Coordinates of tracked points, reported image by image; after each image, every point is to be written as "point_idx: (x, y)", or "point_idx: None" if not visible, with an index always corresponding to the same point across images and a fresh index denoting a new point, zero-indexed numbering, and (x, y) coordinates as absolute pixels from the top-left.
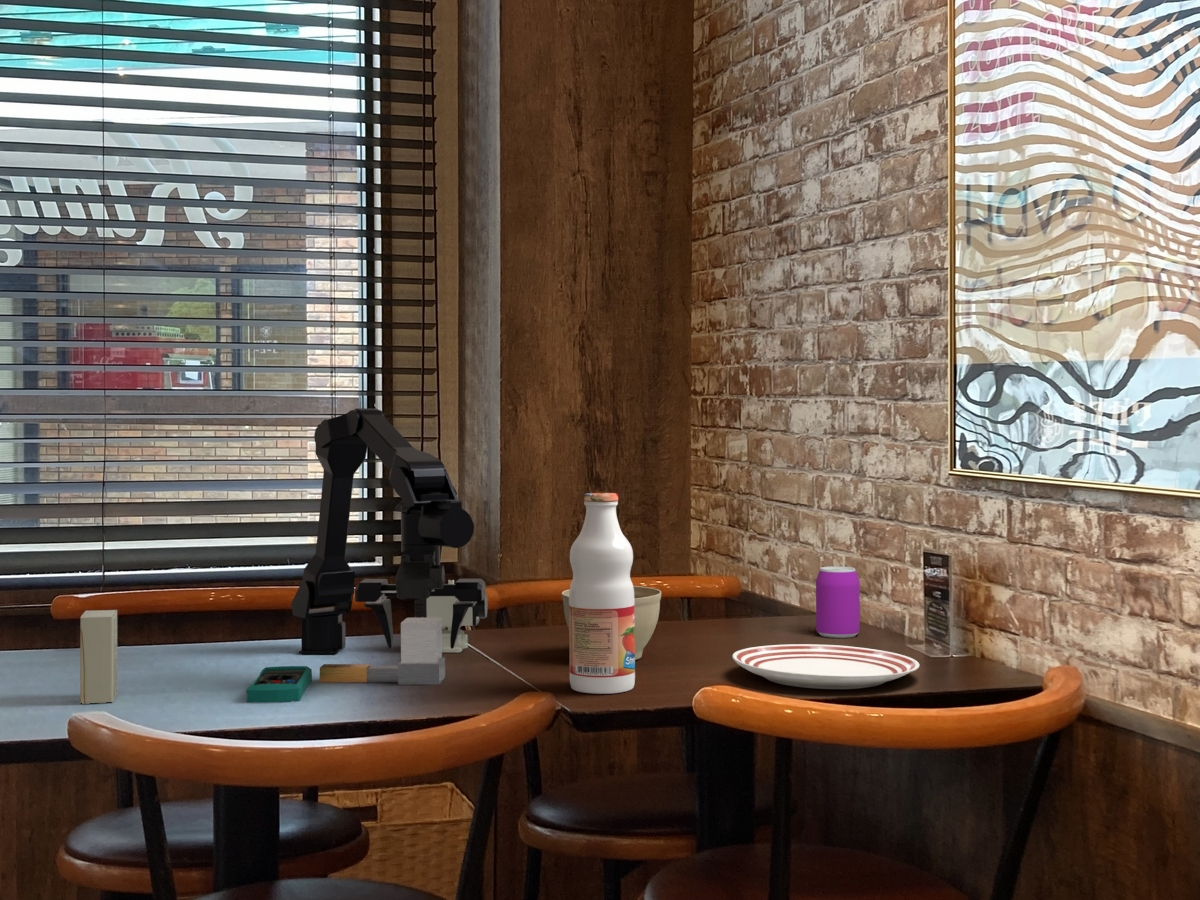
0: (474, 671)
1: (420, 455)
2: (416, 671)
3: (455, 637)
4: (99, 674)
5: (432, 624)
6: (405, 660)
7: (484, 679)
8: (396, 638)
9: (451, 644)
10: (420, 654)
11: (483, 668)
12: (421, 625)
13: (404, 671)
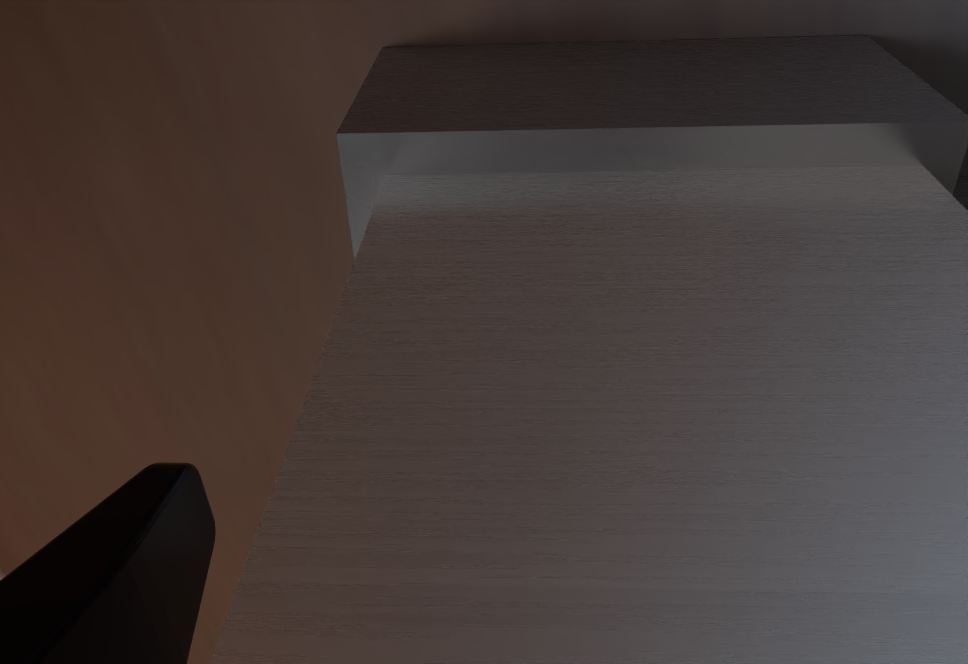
0: (240, 569)
1: None
2: (665, 87)
3: (14, 576)
4: None
5: None
6: (869, 188)
7: (16, 303)
8: None
9: (149, 492)
10: (636, 234)
11: (213, 643)
12: None
13: (837, 88)
